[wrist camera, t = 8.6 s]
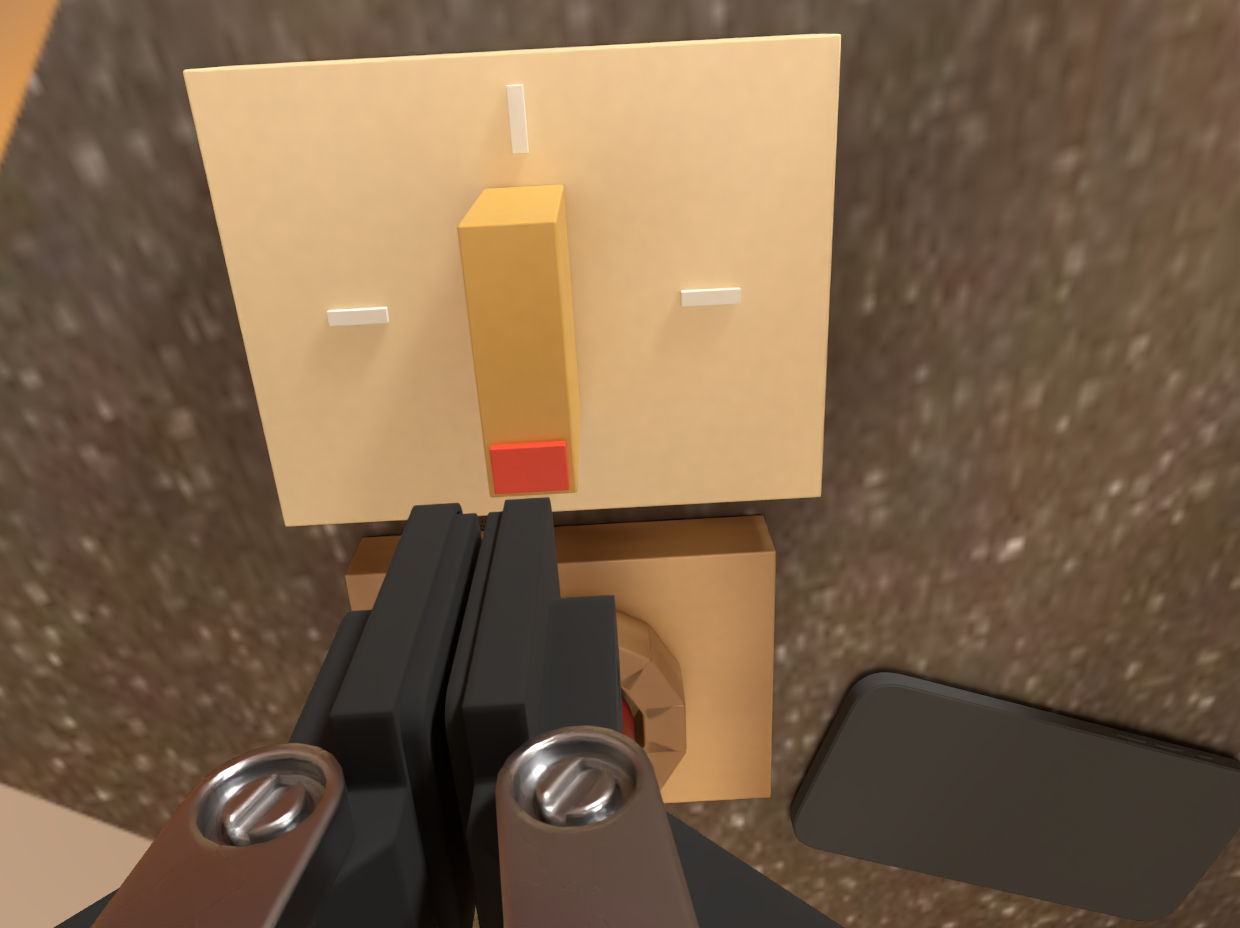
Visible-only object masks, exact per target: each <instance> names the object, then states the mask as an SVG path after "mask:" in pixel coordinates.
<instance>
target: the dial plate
mask: <svg viewBox="0 0 1240 928" xmlns="http://www.w3.org/2000/svg"><path fill="white" fill-rule="evenodd" d="M840 52H841V35H840V34H801V35H783V36H765V37H747V38H729V39H710V40H692V41H674V42H656V43H638V44H620V45H601V46H583V47H565V48H547V49H529V50H510V51H492V52H474V53H456V54H438V55H420V56H401V57H383V58H365V59H347V60H329V61H311V62H292V63H274V64H256V65H238V66H224V67H212V68H200V69H188V70H184V71H183V74H184V79H185V83H186V88H187V92H188V97H189V101H190V105H191V110H192V114H193V119H194V123H195V128H196V132H197V137H198V141H199V145H200V150H201V154H202V159H203V163H204V168H205V172H206V176H207V181H208V185H209V190H210V194H211V199H212V203H213V208H214V212H215V216H216V221H217V225H218V230H219V234H220V239H221V243H222V248H223V252H224V256H225V261H226V265H227V270H228V274H229V279H230V283H231V287H232V292H233V296H234V301H235V305H236V310H237V314H238V319H239V323H240V327H241V332H242V336H243V341H244V345H245V350H246V354H247V358H248V363H249V367H250V372H251V376H252V381H253V385H254V390H255V394H256V398H257V403H258V407H259V412H260V416H261V421H262V425H263V429H264V434H265V438H266V443H267V447H268V452H269V456H270V461H271V465H272V469H273V474H274V478H275V483H276V487H277V492H278V496H279V501H280V505H281V509H282V514H283V518H284V523H285V526H305V525H323V524H341V523H359V522H377V521H395V520H408V518H409V515H410V512H411V510H412V508H413V506H414V505H429V504H445V503H459V504H460V505H461V508H462V511H463V514H468V513H476V514H477V515H478V516H484V515H488V514H489V512H500V511H503V507H504V503H505V500H510V499H526V498H542V497H549V498H550V501H551V507H552V512H556V511H574V510H592V509H610V508H628V507H646V506H664V505H681V504H699V503H717V502H735V501H753V500H771V499H789V498H807V497H820V496H821V485H822V462H823V439H824V417H825V394H826V371H827V348H828V325H829V303H830V280H831V257H832V234H833V211H834V189H835V166H836V143H837V120H838V97H839V75H840ZM560 184H561V185H563V186H564V195H565V208H566V222H567V235H568V249H569V262H570V276H571V290H572V303H573V317H574V330H575V344H576V357H577V371H578V385H579V398H580V439H579V465H578V490H577V492H576V493H564V494H546V495H528V496H511V497H493V498H492V497H490V494H489V486H488V478H487V469H486V461H485V453H484V445H483V437H482V428H481V420H480V412H479V404H478V396H477V387H476V379H475V371H474V363H473V354H472V346H471V338H470V330H469V322H468V313H467V305H466V297H465V289H464V281H463V272H462V264H461V256H460V248H459V240H458V231H457V227H458V225H459V223H460V222H461V221H462V219H463V218H464V216H465V215H466V214H467V212H468V211H469V209H470V208H471V207H472V205H473V204H474V203H475V201H476V200H477V198H478V197H479V196H480V194H481V193H482V191H483V190H484V189H489V188H506V187H524V186H542V185H560Z"/></svg>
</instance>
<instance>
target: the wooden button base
mask: <svg viewBox="0 0 1240 928" xmlns="http://www.w3.org/2000/svg"><path fill="white" fill-rule="evenodd" d="M483 534H484V531H481V538H483ZM554 535H555V545H556V555H557V564H558V574H559V584H560V594H561V598H570V597H587V596H603V595H614V597H615V606H616V619H617V632H618V646H619V661H620V677H621V695H622V696H623V698H624V699H625V700H626V702H627V703H628V705H629V707H630V709H631V711H632V715H633V719H634V731H635V742H636V743H637V744H638V745H639V746H641V747H642V748H643V749H644V750H645V752H646V754H647V756H648V757H649V759H650V761H651V763H652V765H653V768H654V771H655V775H656V778H657V782H658V785H659V789H660V792H661V796H662V799H663V803H676V802H694V801H711V800H729V799H747V798H764V797H770V795H771V750H772V705H773V660H774V614H775V569H776V551H775V548H774V545H773V542H772V540H771V537H770V534H769V531H768V528H767V525H766V523H765V520H764V517H763V516H762V515H758V516H741V517H723V518H705V519H687V520H669V521H651V522H633V523H615V524H597V525H579V526H562V527H554ZM400 538H401V535H400V536H383V537H365V538H362V539H361V541H360V544H359V546H358V548H357V550H356V552H355V554H354V557H353V559H352V561H351V563H350V565H349V567H348V569H347V572H346V574H345V580H346V585H347V590H348V595H349V600H350V605H351V610H352V611H358V610H372V608H373V605H374V603H375V600H376V598H377V595H378V593H379V590H380V588H381V585H382V583H383V580H384V578H385V575H386V573H387V570H388V568H389V565H390V563H391V560H392V558H393V555H394V553H395V550H396V548H397V545H398V543H399V540H400Z"/></svg>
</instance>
